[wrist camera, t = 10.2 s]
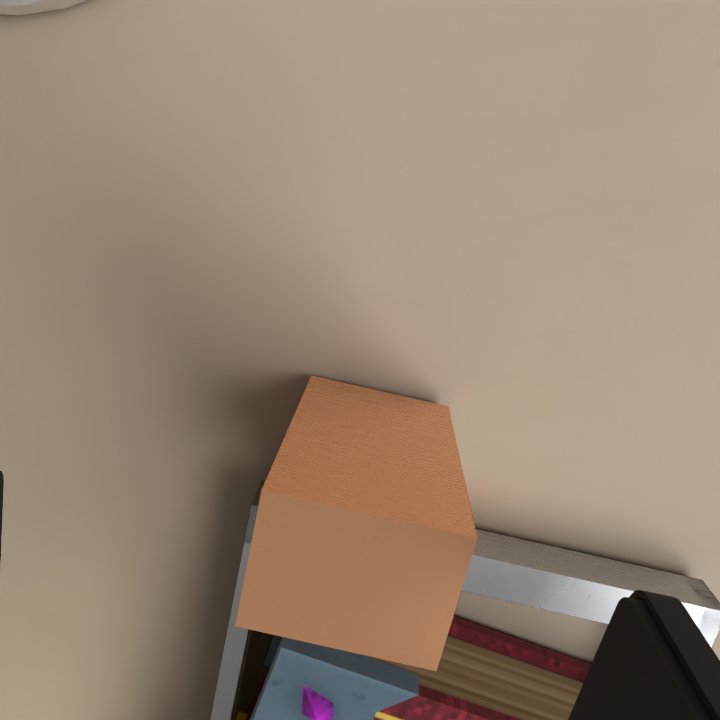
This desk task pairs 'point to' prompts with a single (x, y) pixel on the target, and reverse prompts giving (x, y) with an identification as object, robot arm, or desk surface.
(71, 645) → the desk surface
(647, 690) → the robot arm
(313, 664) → the decorative book
